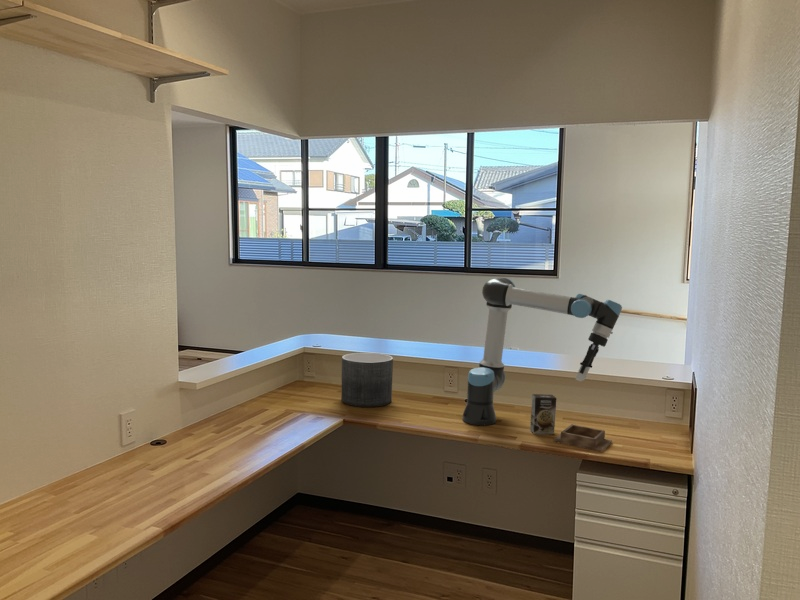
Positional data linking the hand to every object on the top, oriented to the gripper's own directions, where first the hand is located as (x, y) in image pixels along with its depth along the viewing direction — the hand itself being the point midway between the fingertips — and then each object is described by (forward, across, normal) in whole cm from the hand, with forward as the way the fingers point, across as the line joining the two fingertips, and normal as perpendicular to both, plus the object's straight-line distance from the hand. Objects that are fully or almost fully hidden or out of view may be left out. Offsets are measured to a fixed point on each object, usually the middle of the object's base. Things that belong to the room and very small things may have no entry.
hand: (579, 380), depth 261 cm
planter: (+55, +6, +89) cm, 105 cm away
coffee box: (+27, -4, +5) cm, 28 cm away
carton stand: (+22, -10, -12) cm, 27 cm away
